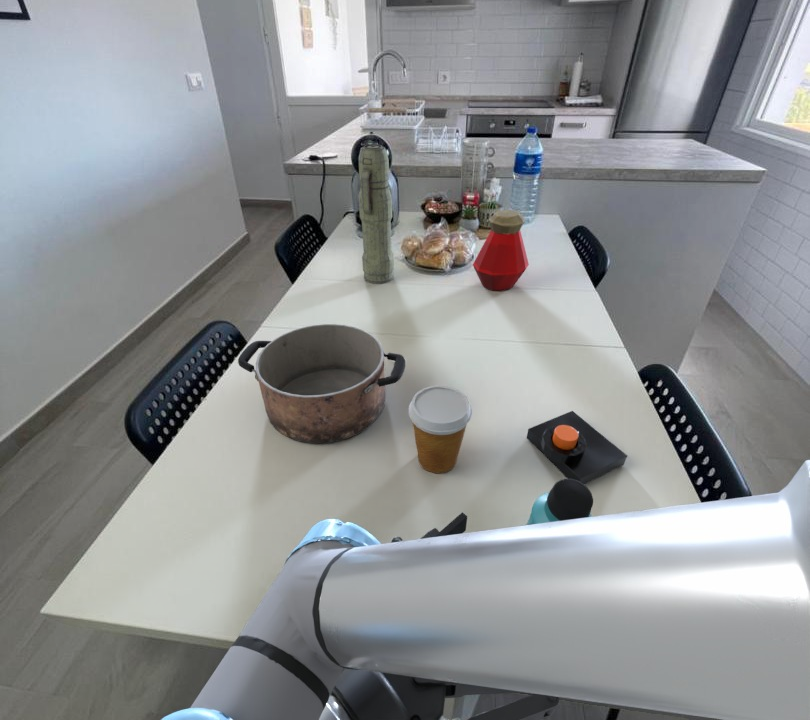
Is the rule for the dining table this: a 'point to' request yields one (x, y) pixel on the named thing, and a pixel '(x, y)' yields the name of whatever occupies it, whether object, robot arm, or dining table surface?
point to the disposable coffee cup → (439, 426)
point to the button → (565, 437)
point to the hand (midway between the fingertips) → (512, 562)
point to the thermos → (375, 214)
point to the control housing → (577, 449)
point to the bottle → (502, 252)
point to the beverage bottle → (562, 503)
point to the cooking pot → (322, 381)
